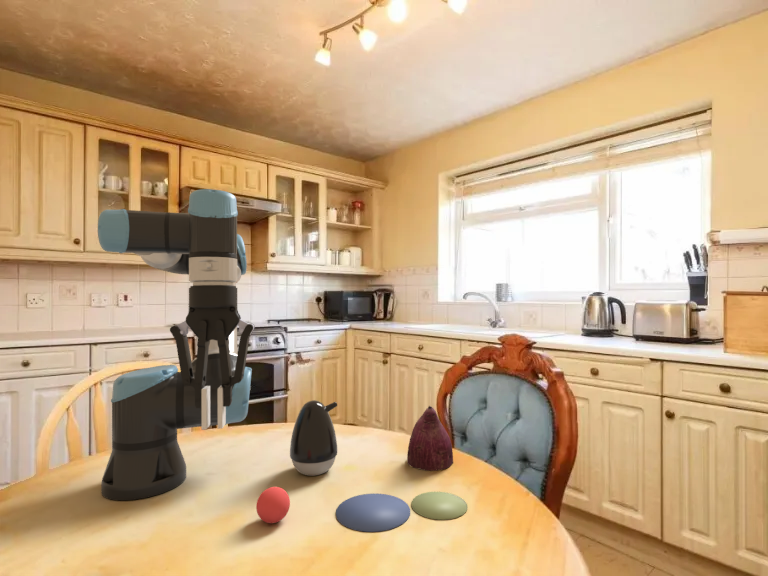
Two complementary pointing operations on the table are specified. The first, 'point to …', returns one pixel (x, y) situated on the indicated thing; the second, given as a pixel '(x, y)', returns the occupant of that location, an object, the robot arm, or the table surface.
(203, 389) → the robot arm
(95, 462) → the table surface
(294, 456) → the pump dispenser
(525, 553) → the table surface
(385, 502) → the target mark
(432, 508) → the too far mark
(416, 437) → the vegetable
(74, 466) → the table surface
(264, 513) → the ball
